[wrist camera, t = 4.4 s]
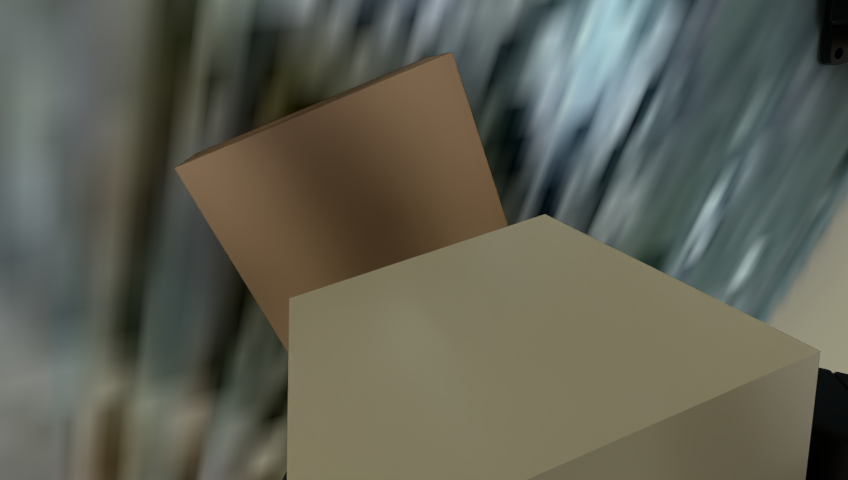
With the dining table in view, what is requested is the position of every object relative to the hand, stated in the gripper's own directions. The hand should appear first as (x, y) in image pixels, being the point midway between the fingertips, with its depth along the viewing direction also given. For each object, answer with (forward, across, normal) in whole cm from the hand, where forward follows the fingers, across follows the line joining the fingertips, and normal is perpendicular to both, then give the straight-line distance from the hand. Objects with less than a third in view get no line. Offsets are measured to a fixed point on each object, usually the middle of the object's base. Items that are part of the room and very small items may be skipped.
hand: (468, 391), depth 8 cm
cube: (+1, 0, 0) cm, 1 cm away
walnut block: (+12, 0, -1) cm, 12 cm away
